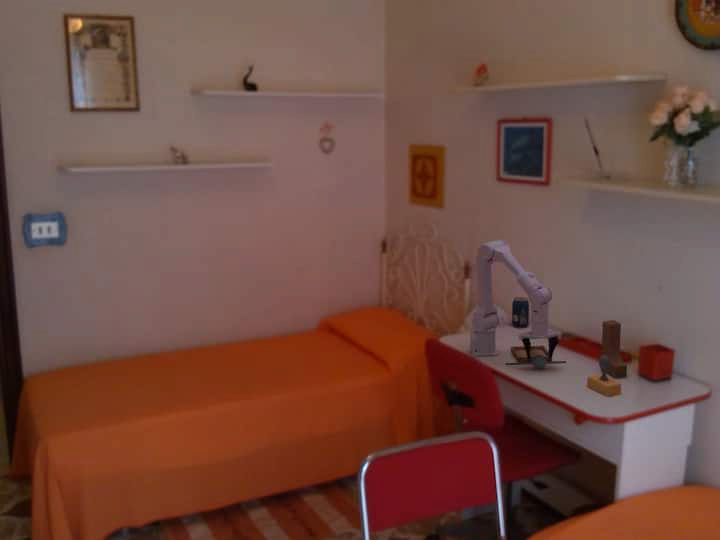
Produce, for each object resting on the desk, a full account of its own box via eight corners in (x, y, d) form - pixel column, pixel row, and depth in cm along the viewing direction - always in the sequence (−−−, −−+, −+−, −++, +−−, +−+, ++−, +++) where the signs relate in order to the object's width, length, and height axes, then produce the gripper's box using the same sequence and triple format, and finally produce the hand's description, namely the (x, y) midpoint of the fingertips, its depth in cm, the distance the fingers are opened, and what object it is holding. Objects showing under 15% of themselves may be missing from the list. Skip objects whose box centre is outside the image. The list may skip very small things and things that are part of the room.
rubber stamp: (586, 386, 235) (587, 352, 233) (600, 383, 237) (601, 349, 235) (607, 397, 226) (608, 361, 224) (621, 393, 228) (622, 358, 226)
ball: (533, 371, 250) (533, 357, 249) (530, 366, 255) (530, 352, 254) (547, 370, 250) (548, 357, 249) (544, 365, 255) (544, 352, 254)
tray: (517, 362, 260) (517, 357, 259) (510, 351, 272) (510, 346, 271) (551, 361, 259) (552, 356, 259) (543, 349, 272) (543, 345, 271)
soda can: (518, 322, 307) (519, 296, 304) (532, 326, 302) (532, 298, 299) (508, 326, 303) (508, 299, 300) (521, 329, 297) (522, 302, 295)
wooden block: (626, 377, 241) (629, 326, 237) (615, 378, 240) (617, 328, 236) (612, 368, 250) (613, 319, 246) (600, 369, 249) (602, 320, 245)
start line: (506, 365, 257) (506, 364, 257) (505, 363, 259) (505, 363, 258) (566, 362, 257) (566, 362, 257) (565, 361, 258) (565, 360, 258)
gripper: (521, 325, 245) (521, 362, 248) (563, 323, 245) (562, 361, 248) (517, 319, 252) (517, 355, 255) (558, 318, 252) (557, 354, 255)
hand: (539, 358), depth 252 cm, fingers open, 7 cm apart
